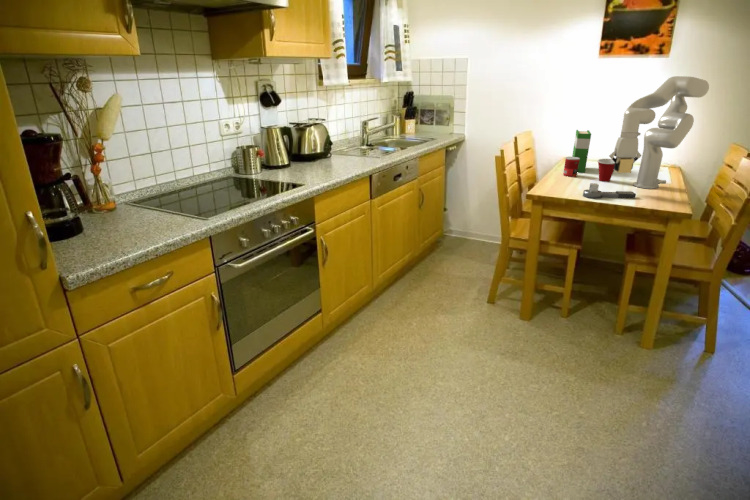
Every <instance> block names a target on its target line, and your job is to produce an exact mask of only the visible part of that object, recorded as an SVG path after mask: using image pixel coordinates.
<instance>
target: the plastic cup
mask: <svg viewBox="0 0 750 500" xmlns="http://www.w3.org/2000/svg"><path fill="white" fill-rule="evenodd" d="M597 163H598V181H600V182H606V183H607V182H610V181H611V179H612V176H613V175H614V171H615V170H614V164H615V162H614V161H613V160H612V159H611V158H599V159H597Z"/></svg>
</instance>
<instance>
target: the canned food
mask: <svg viewBox="0 0 750 500" xmlns="http://www.w3.org/2000/svg"><path fill="white" fill-rule="evenodd" d="M579 160H580V158H578V157H572V156H566V157H565V160H564V166H563V167H564V168H563V173H562V174H563V176H564V177H567V176H568V178H574V177H575V178H576V177H577V176H578V173H577V172H578V167H579Z"/></svg>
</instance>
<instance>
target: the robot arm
mask: <svg viewBox="0 0 750 500" xmlns="http://www.w3.org/2000/svg"><path fill="white" fill-rule="evenodd" d="M709 89H710V84H709V82H708V81H707V80H705V79H702V78H698V77H695V76H685V75H684V76H671V77H668V79H666V80H665V81H664V82H663V83H662V84H661V85H660V86H659V87H658V88H657V89H656V90H655V91H654V92H653V93H650V94H648V95H645V96H643V97H640V98H638V99H637V100H635V101H633V102H632V103H631V104H630V105H629V106H628V107H627V108H626V109H625V111H624V114H623V119H622V125H621V132H620V137H618V138H617V140H616V144H615V147H614V150H613V152H612V153H610V155H608V156H609V157H610V158H609V159H612V160H613V161H614V162H615V164H614V171H615V170H616V171H618V167H619V163H618V162H619V160H620V159H621V158H631V159H633V164H632V169H633V168H634V164H635V162H636V161H637V160H639V159H640V158H641V161H640V163H639V169H638V174H637V179H636V181H634V182H633V183H632V185H633V187H637V188H640V189H648V190H655V189H658V188H660V184H661V185H665V184H667V180H666V179H659V178H658V177H659V173H660V168H661V164H662V161H663V155H664V154H663V150H662V148H665V149H675V148H677V147H678V146H679V145H680V144H681V143H682V141H683V140H685V137H687V135H688V133H690V131H691V129H692V128H693V126H694V121H695V119H694V116H693V115H692V114H690V113H687V110H688V103H687V101H686V99H685V98H698V99H699V98H702V97H704V96H706V95H707V94H708V92H709ZM669 102H670V104H669V106H668V107H667V108H666V110H665V111H664V113H663V114H662V115H661V116H660V118H659V120H658V122H657V127H651V128H649V129H647V130H646V131H645V133H644V135H643V150H642V154H641V153H640V152H639V138H638V137H639V136H641V132H639V128H640V125H649V124H651V123H652V122H653V121H655V119H656V111H655V110H654V109H655V108H660V107H663V106H665V105H667V104H668V103H669ZM632 169H631V171H632ZM616 171H615V172H616Z"/></svg>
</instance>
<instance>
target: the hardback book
mask: <svg viewBox="0 0 750 500" xmlns="http://www.w3.org/2000/svg"><path fill="white" fill-rule="evenodd" d="M591 139H592V133H591V131H590V130H589V129H587V130H586V131H585V130H583V131H582V130H581V131H580V130H579V129H576V130H575V136H574V144H573V150H572V154H571V155H572V156H571V157H578V158H580V160H579V167H578V173H579V174H585V173H586V167H587V162H588V156H589V155H588V154H589V150H590V143H591ZM578 173H577V174H578Z"/></svg>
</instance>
